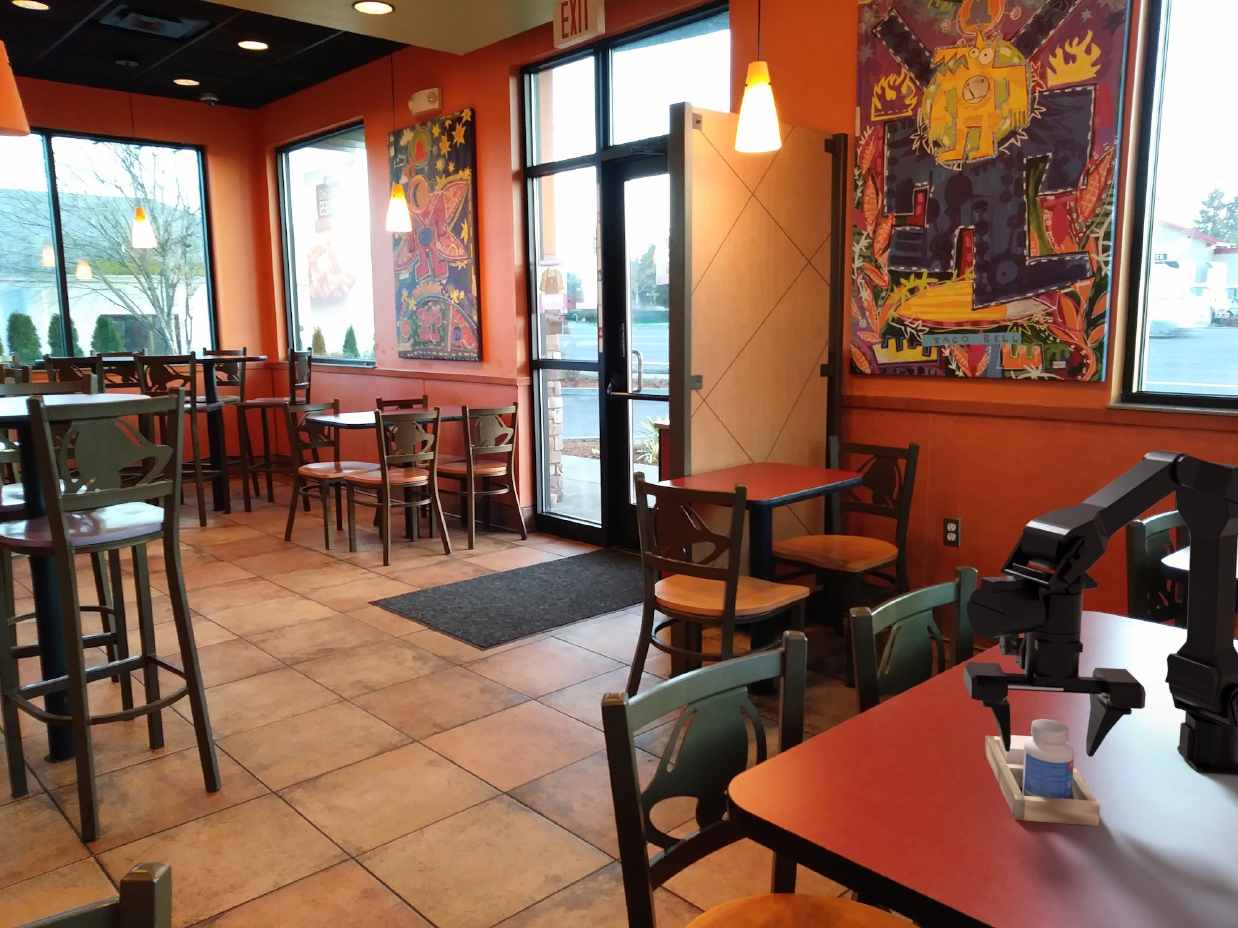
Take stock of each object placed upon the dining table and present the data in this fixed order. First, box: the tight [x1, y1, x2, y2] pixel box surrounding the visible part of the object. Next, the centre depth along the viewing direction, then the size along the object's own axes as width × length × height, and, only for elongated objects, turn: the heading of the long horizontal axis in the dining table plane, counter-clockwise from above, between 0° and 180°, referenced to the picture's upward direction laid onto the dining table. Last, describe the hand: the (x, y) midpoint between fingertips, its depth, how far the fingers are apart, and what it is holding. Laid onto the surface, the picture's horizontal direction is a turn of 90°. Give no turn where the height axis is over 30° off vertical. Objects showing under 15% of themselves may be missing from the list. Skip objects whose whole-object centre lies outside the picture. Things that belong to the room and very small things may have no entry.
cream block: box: [999, 734, 1033, 765], centre depth 116 cm, size 4×4×4 cm
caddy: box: [984, 735, 1101, 827], centre depth 111 cm, size 9×17×2 cm, turn 169°
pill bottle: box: [1021, 718, 1075, 799], centre depth 107 cm, size 6×5×10 cm
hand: (1047, 752), depth 107 cm, fingers open, 9 cm apart
